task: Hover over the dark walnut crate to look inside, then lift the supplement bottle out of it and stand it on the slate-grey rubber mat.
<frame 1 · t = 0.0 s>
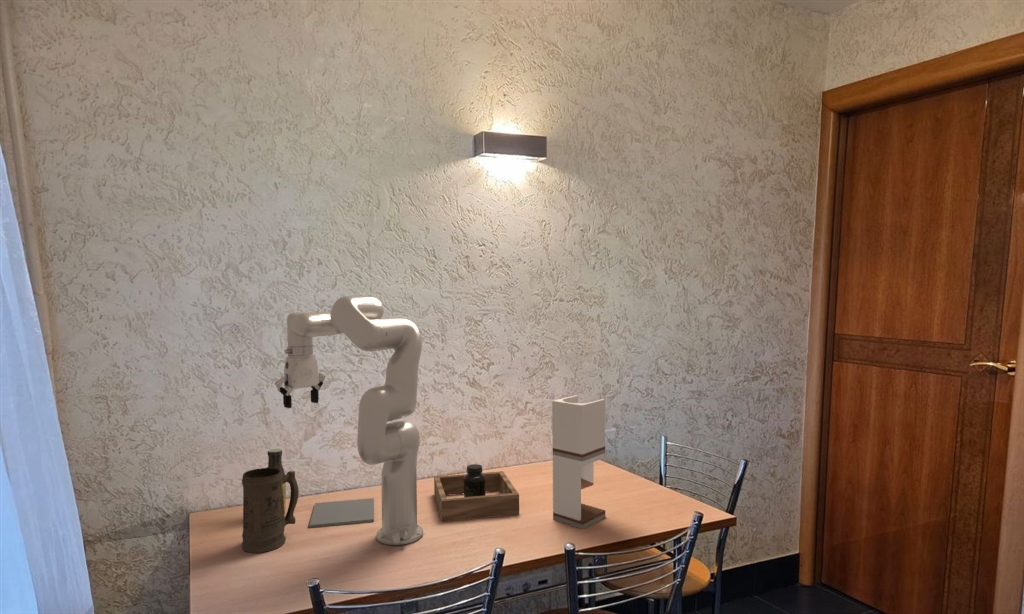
hand: (301, 405, 192), 31 cm above the table, tool pointing down, fingers open, 9 cm apart
crate: (474, 503, 189), on the table
beer stein: (271, 542, 163), on the table
supplement bottle: (474, 504, 189), resting in crate
sauce bottle: (275, 516, 181), on the table
mat: (343, 513, 183), on the table
white notched column: (579, 518, 177), on the table
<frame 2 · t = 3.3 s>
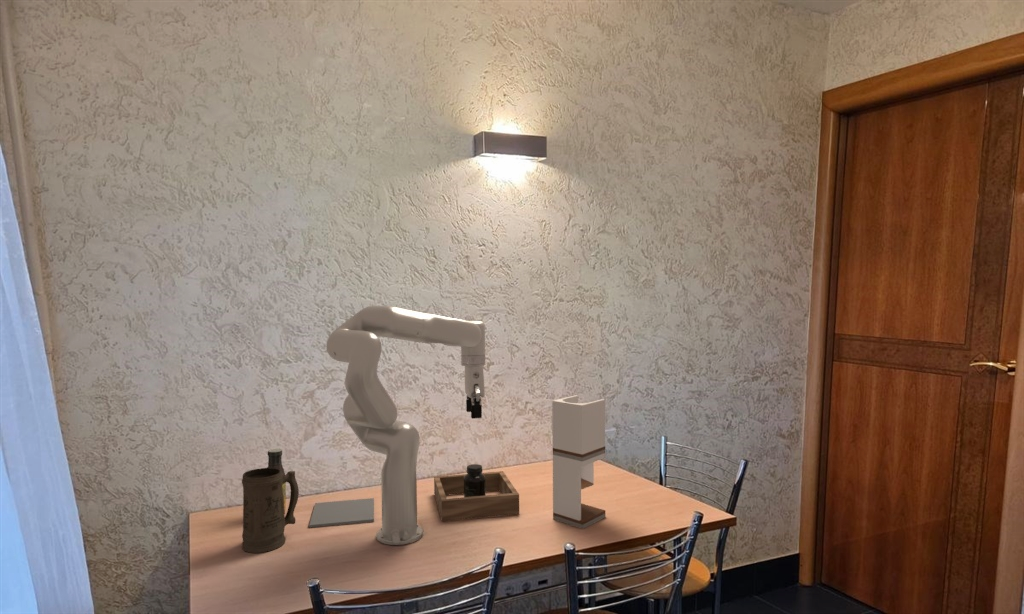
hand: (473, 414, 188), 28 cm above the table, tool pointing down, fingers open, 9 cm apart
nothing on the table moved.
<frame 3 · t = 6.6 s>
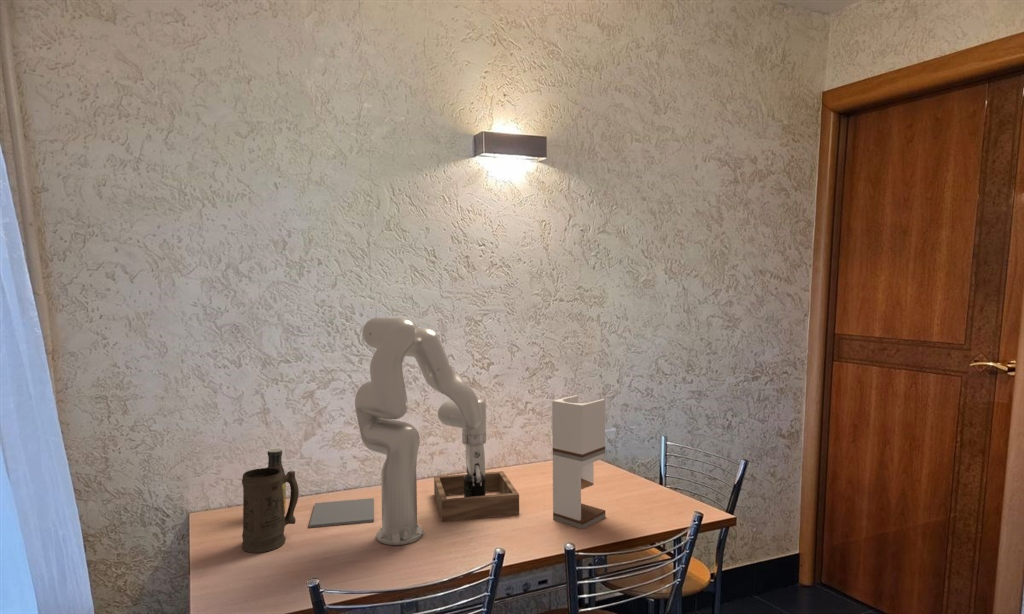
hand: (474, 493, 189), 3 cm above the table, tool pointing down, fingers closed on supplement bottle, 6 cm apart
supplement bottle: (474, 504, 190), resting in crate, touching gripper
everything else where it was.
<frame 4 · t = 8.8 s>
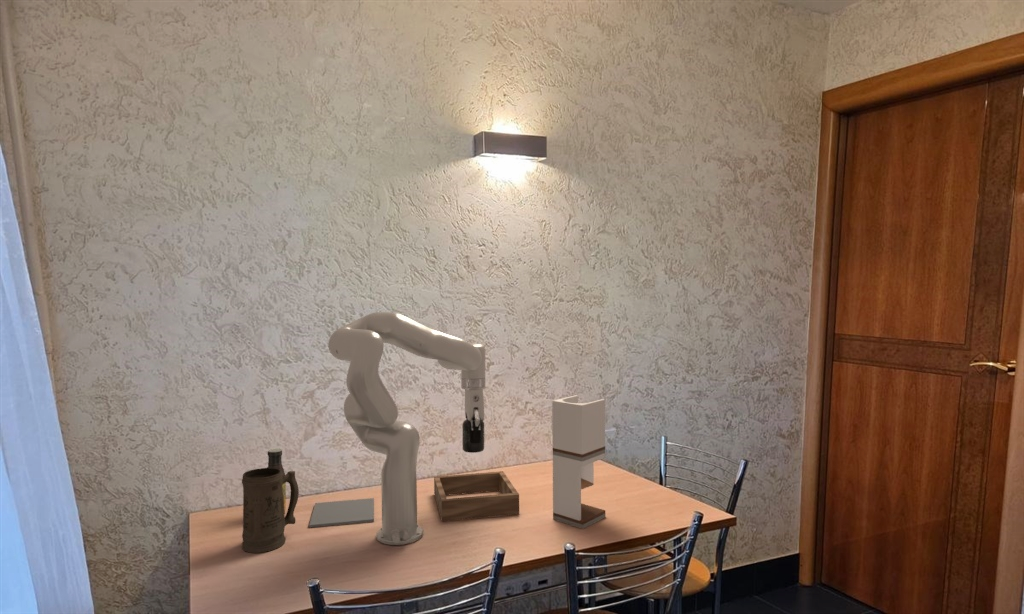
hand: (473, 439, 188), 21 cm above the table, tool pointing down, fingers closed on supplement bottle, 6 cm apart
supplement bottle: (473, 450, 189), point 17 cm above the table, touching gripper
everything else where it was.
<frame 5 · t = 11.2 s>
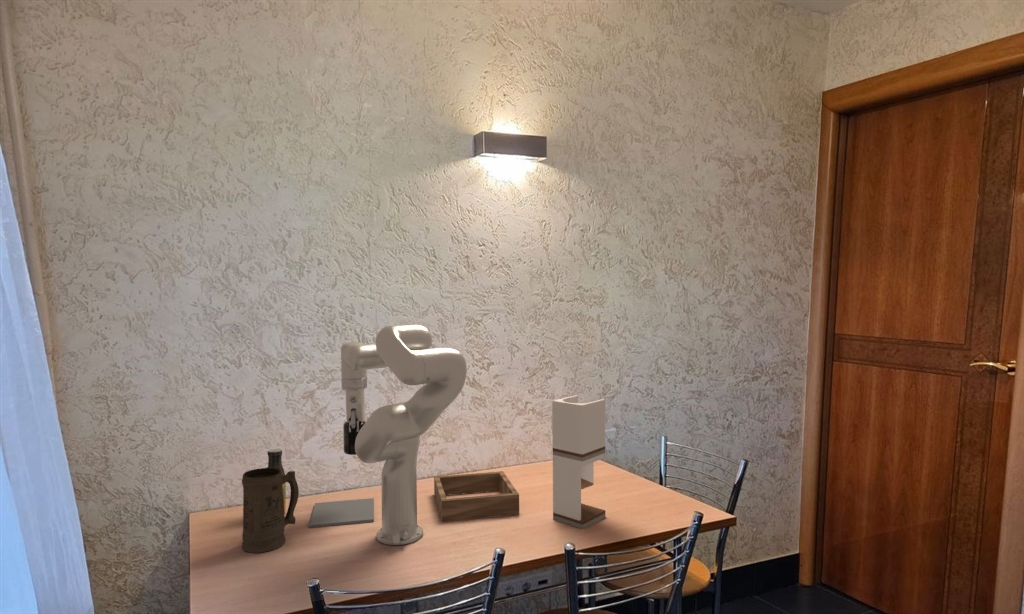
hand: (355, 441, 183), 22 cm above the table, tool pointing down, fingers closed on supplement bottle, 6 cm apart
supplement bottle: (355, 452, 183), point 18 cm above the table, touching gripper
everything else where it was.
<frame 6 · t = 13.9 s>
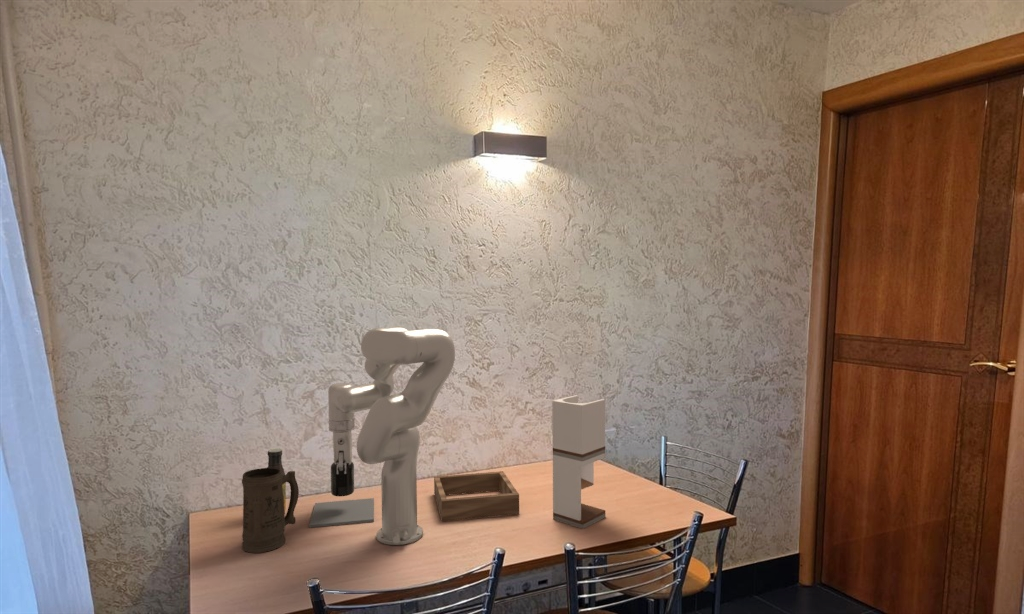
hand: (342, 482, 182), 10 cm above the table, tool pointing down, fingers closed on supplement bottle, 6 cm apart
supplement bottle: (342, 493, 183), point 6 cm above the table, touching gripper
everything else where it was.
when the fingers open (5 cm above the table, at t = 15.8 s): supplement bottle drops 1 cm, resting on mat.
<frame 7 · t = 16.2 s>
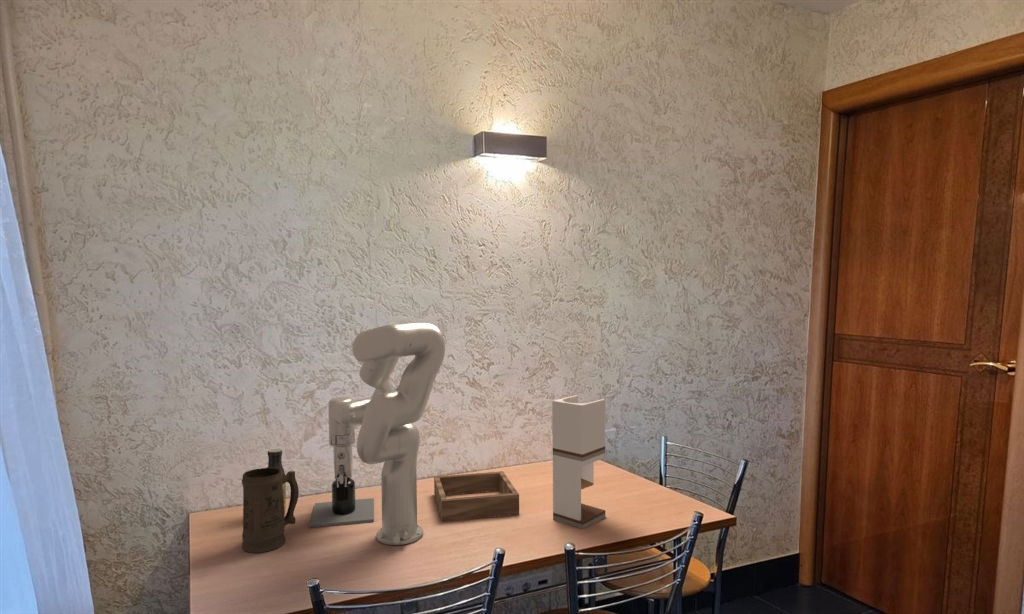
hand: (343, 494, 182), 6 cm above the table, tool pointing down, fingers open, 9 cm apart
supplement bottle: (343, 511, 182), point 1 cm above the table, touching mat
everything else where it was.
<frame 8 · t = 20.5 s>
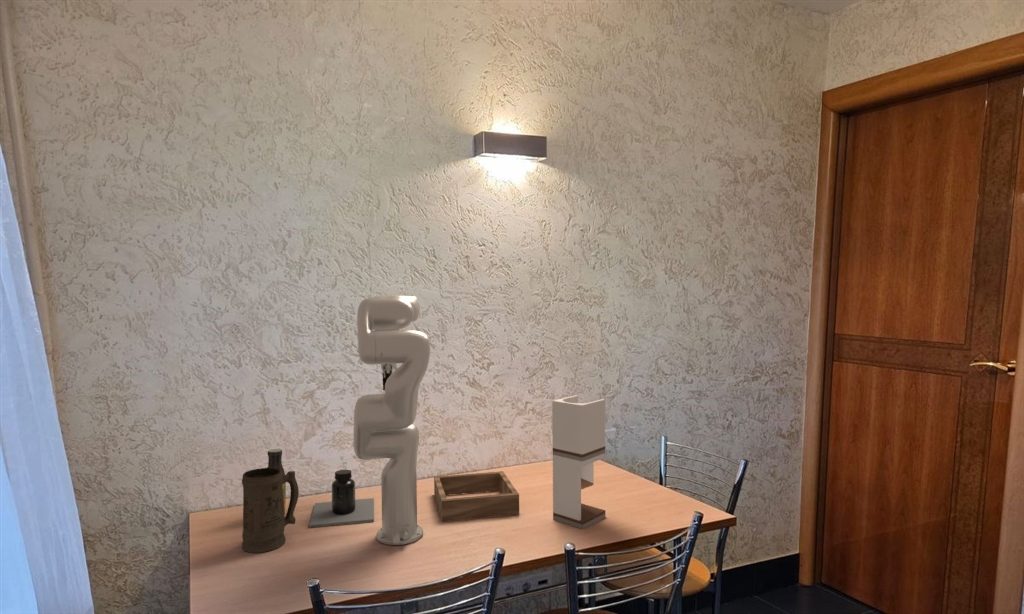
hand: (388, 387, 193), 36 cm above the table, tool pointing down, fingers open, 9 cm apart
nothing on the table moved.
at the end: supplement bottle inside the target area on the mat (0.2 cm from its centre), point 0.6 cm above the mat's base; supplement bottle tilted 0°; the gripper is holding nothing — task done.
